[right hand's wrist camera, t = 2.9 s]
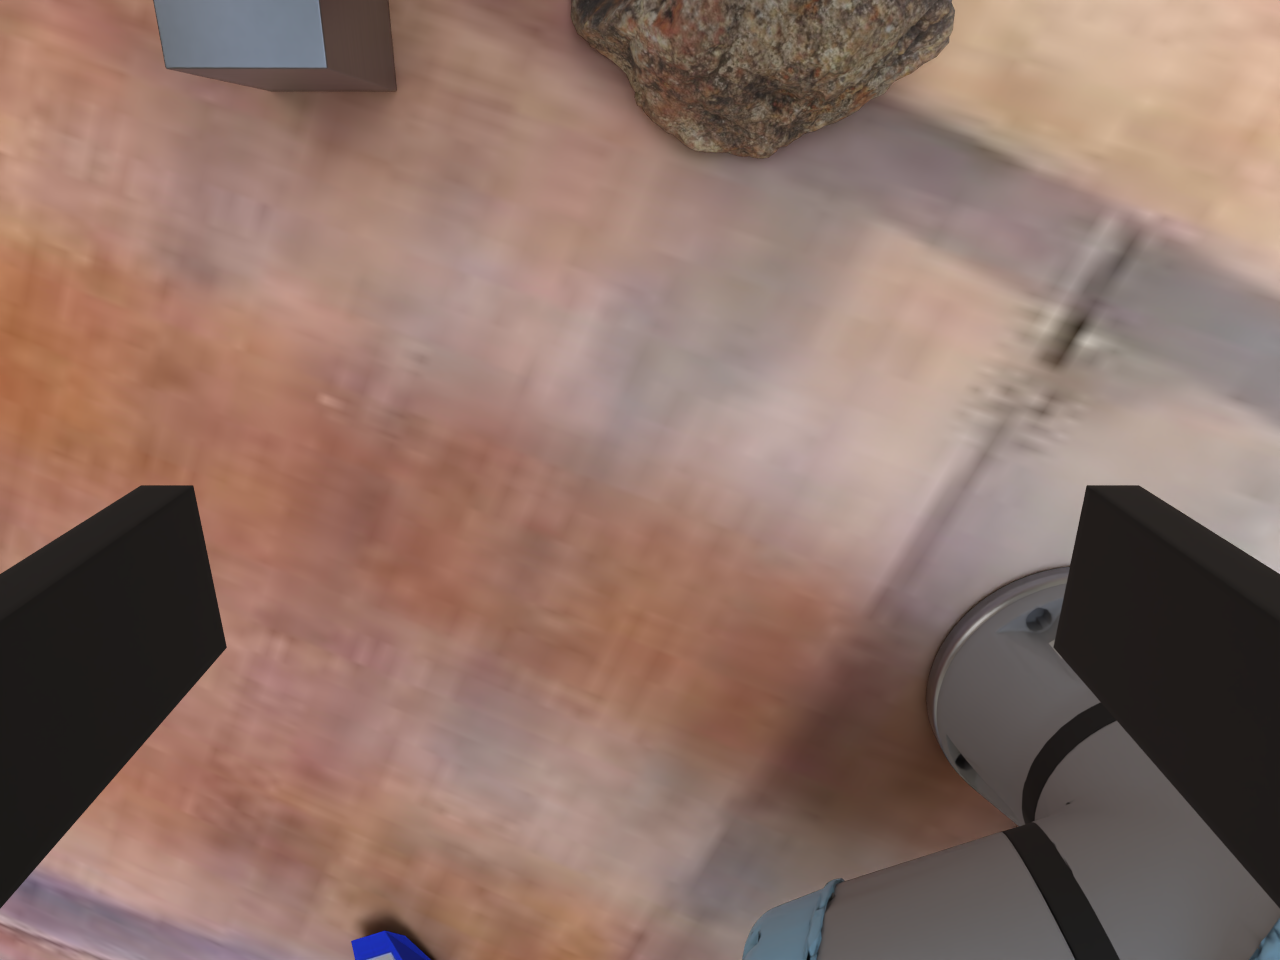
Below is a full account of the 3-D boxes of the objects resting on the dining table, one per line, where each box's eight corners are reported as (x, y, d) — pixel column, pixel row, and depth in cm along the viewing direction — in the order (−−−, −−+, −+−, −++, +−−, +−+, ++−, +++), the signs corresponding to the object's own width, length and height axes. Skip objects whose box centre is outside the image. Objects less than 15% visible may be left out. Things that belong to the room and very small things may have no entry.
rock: (667, -186, 34) (539, 40, 36) (657, -315, 25) (493, -10, 28) (942, 33, 35) (799, 232, 38) (1016, -22, 27) (828, 237, 30)
